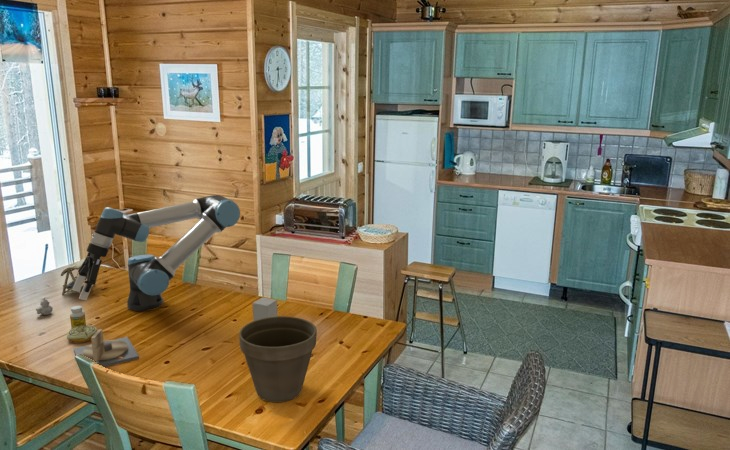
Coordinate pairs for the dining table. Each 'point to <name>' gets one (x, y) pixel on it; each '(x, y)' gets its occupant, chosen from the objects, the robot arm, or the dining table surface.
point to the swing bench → (71, 284)
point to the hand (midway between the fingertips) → (79, 295)
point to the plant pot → (278, 355)
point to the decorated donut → (81, 334)
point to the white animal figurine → (44, 307)
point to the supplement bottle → (77, 317)
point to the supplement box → (264, 308)
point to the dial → (104, 348)
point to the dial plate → (127, 356)
